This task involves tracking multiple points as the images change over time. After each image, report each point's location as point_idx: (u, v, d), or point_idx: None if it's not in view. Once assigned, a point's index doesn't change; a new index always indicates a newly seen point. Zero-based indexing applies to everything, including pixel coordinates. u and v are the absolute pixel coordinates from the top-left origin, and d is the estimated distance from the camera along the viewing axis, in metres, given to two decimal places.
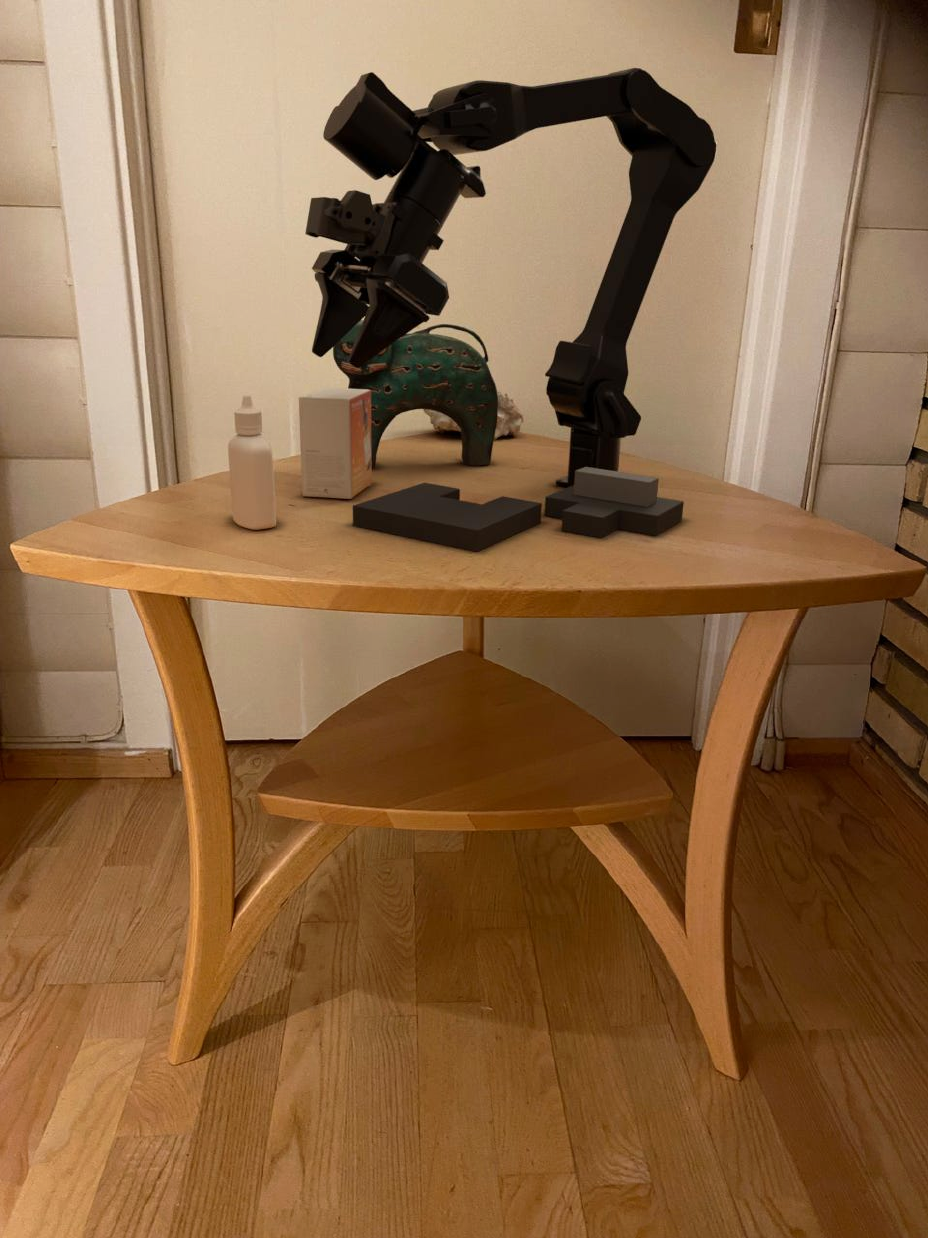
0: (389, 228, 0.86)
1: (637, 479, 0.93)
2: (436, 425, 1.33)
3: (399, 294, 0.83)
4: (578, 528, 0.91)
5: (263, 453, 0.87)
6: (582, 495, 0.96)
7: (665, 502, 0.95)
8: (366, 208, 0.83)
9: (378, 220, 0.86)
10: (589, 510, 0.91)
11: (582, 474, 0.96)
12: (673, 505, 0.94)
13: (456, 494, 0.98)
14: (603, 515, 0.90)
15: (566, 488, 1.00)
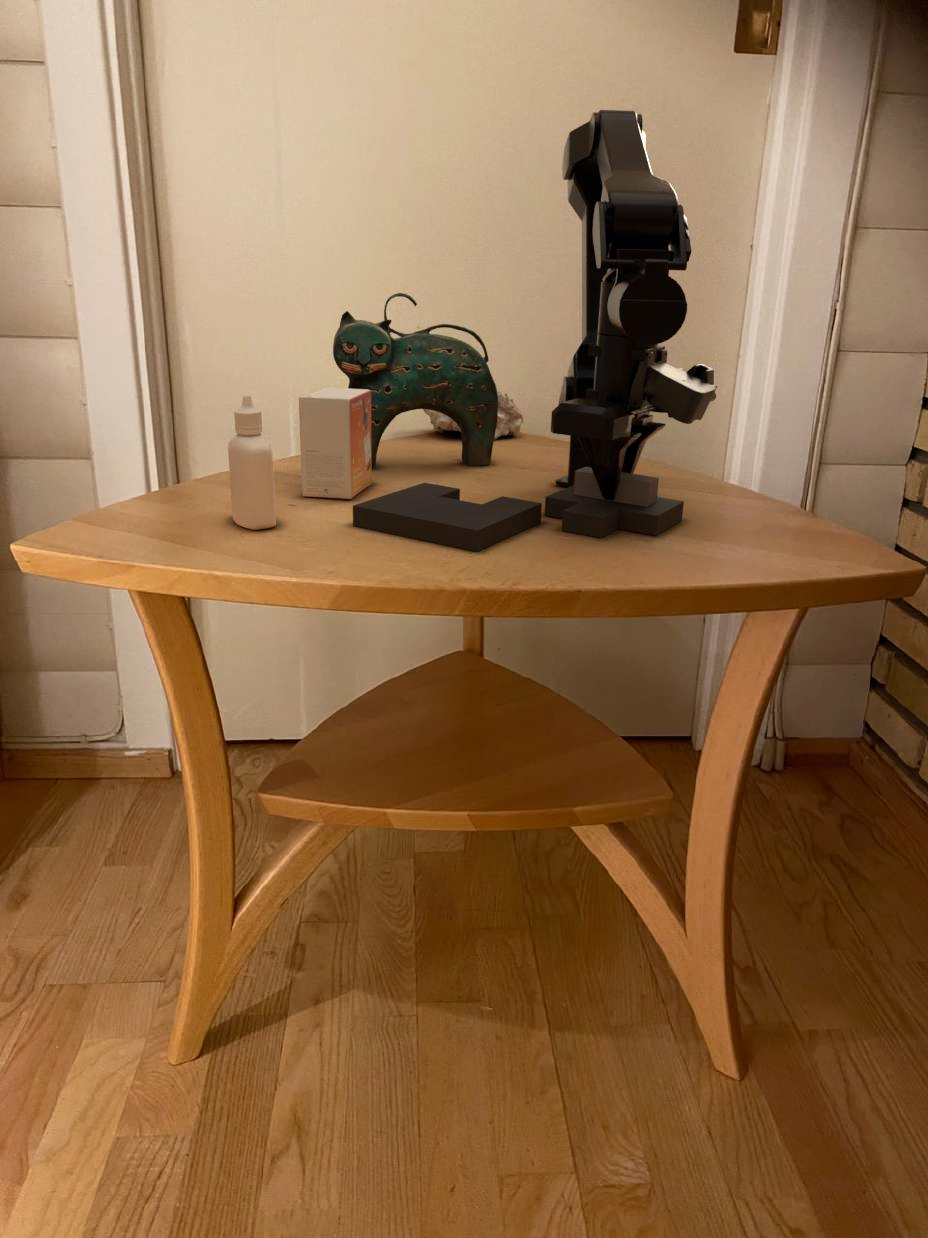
0: None
1: (637, 479, 0.93)
2: (436, 425, 1.33)
3: None
4: (578, 528, 0.91)
5: (263, 453, 0.87)
6: (582, 495, 0.96)
7: (665, 502, 0.95)
8: None
9: None
10: (589, 510, 0.91)
11: (582, 474, 0.96)
12: (673, 505, 0.94)
13: (456, 494, 0.98)
14: (603, 515, 0.90)
15: (566, 488, 1.00)
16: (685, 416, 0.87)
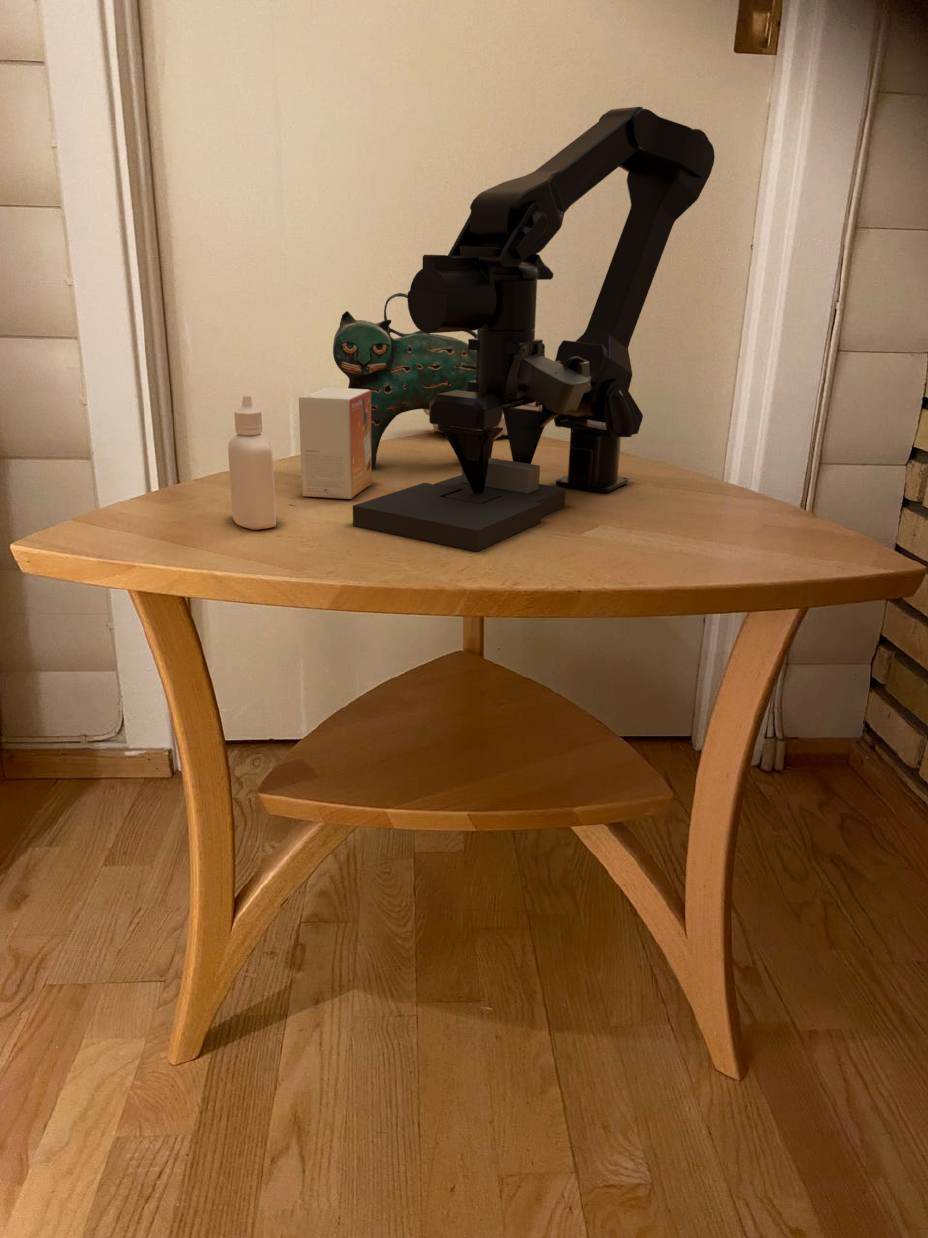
0: None
1: (518, 466, 0.97)
2: (436, 425, 1.33)
3: None
4: None
5: (263, 453, 0.87)
6: None
7: (547, 489, 0.99)
8: None
9: None
10: (470, 496, 0.95)
11: None
12: (554, 492, 0.98)
13: None
14: (481, 500, 0.94)
15: (457, 476, 1.04)
16: (557, 406, 0.92)
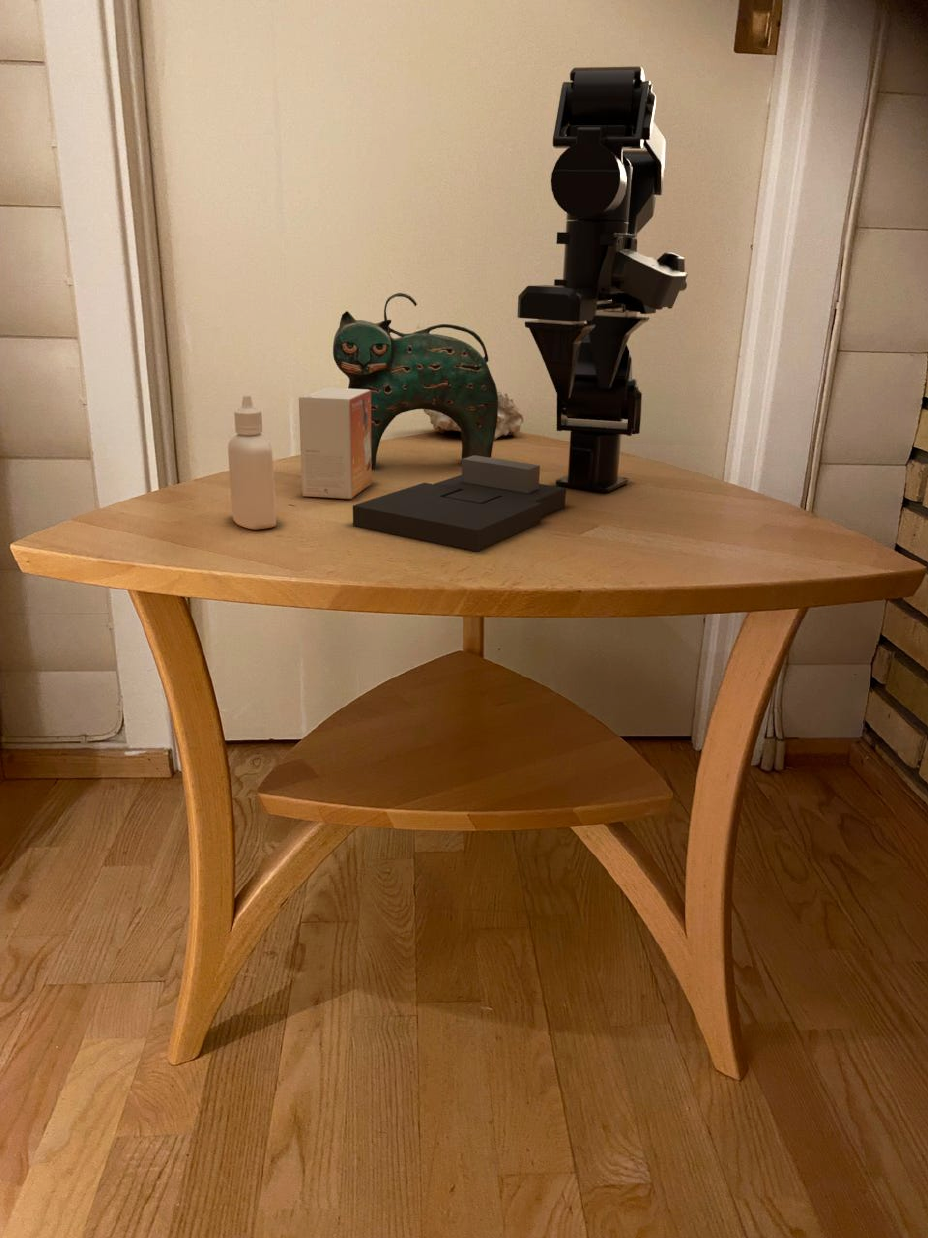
0: None
1: (518, 466, 0.97)
2: (436, 425, 1.33)
3: None
4: None
5: (263, 453, 0.87)
6: (469, 482, 1.00)
7: (547, 489, 0.99)
8: None
9: None
10: (470, 496, 0.95)
11: (468, 462, 1.00)
12: (554, 491, 0.98)
13: None
14: (481, 500, 0.94)
15: (457, 476, 1.04)
16: (654, 301, 0.86)
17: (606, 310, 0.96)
